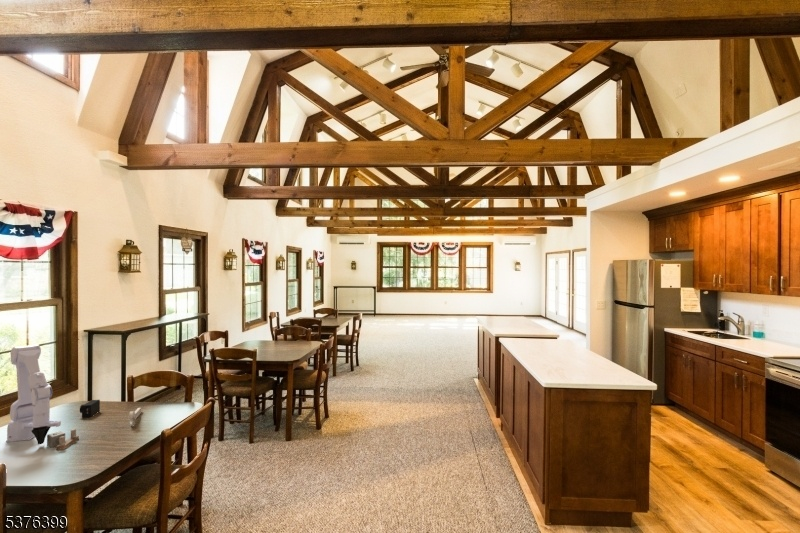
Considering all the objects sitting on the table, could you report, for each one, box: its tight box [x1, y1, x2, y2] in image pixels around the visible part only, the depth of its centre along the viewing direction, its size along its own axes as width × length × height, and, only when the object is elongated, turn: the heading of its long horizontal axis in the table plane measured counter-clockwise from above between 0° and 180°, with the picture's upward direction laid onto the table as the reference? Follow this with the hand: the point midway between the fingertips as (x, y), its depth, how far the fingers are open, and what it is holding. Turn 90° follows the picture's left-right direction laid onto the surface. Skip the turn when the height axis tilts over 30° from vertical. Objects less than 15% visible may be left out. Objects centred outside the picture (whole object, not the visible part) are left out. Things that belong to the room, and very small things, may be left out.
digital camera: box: [79, 399, 101, 419], centre depth 233 cm, size 10×5×7 cm, turn 13°
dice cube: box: [46, 431, 66, 449], centre depth 192 cm, size 5×5×5 cm
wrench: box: [128, 407, 142, 427], centre depth 224 cm, size 8×2×30 cm
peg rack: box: [55, 428, 80, 451], centre depth 193 cm, size 3×12×5 cm, turn 12°
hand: (41, 443), depth 191 cm, fingers closed
